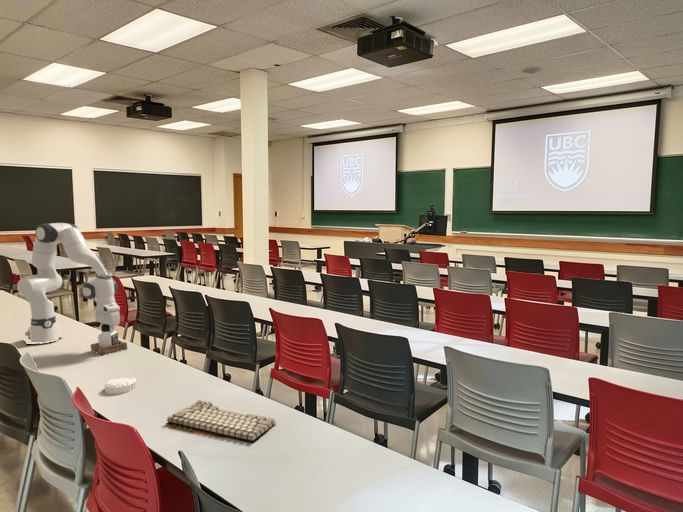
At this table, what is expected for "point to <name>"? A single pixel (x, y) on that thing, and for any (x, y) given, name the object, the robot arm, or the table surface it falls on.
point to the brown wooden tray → (109, 348)
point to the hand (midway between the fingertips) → (107, 331)
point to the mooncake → (120, 385)
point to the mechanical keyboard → (220, 422)
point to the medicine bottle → (107, 337)
